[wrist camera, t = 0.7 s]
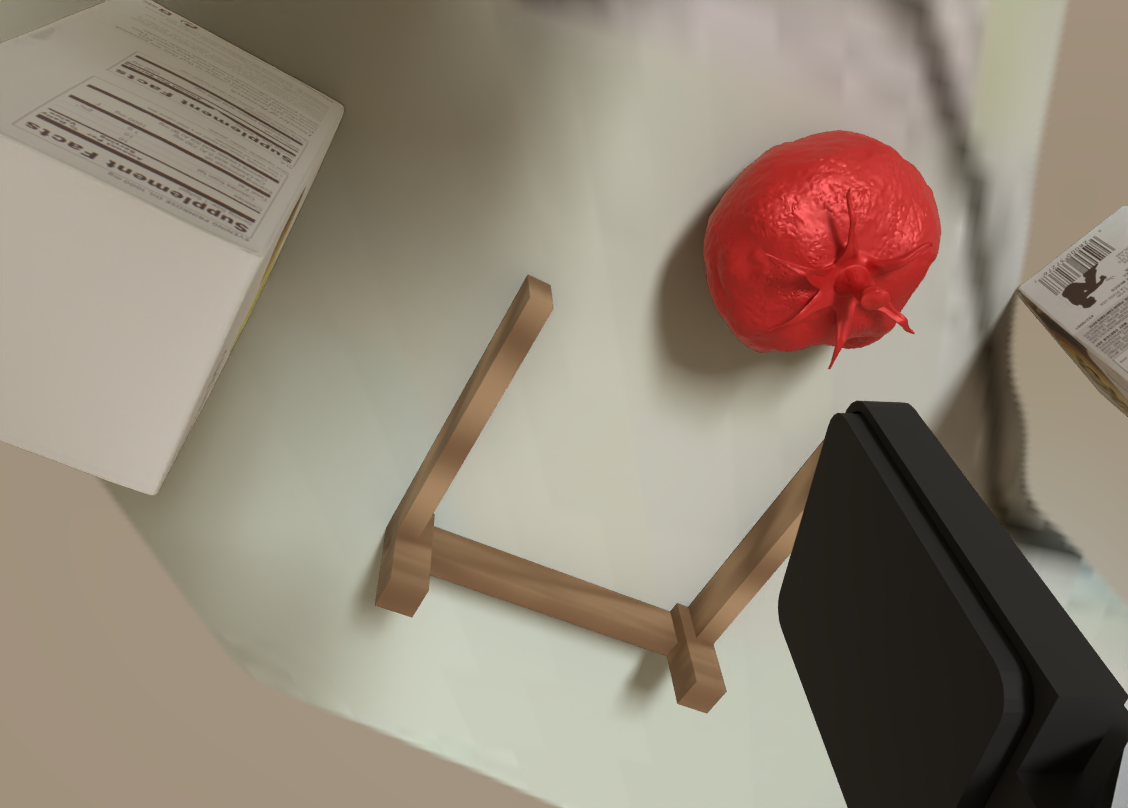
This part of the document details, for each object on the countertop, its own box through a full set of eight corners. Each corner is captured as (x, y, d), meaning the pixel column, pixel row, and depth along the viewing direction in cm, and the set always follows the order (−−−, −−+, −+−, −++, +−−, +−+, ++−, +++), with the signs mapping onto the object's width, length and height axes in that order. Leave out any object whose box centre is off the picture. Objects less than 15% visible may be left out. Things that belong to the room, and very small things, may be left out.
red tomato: (654, 190, 41) (688, 270, 33) (858, 69, 39) (946, 124, 31) (746, 352, 46) (795, 456, 38) (933, 253, 43) (1027, 341, 36)
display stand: (527, 274, 43) (533, 333, 38) (856, 429, 49) (899, 497, 44) (386, 527, 50) (374, 605, 45) (687, 634, 56) (707, 713, 51)
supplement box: (267, 284, 42) (154, 512, 28) (61, 190, 39) (-183, 391, 25) (351, 101, 38) (269, 257, 24) (129, -20, 35) (-118, 75, 21)
